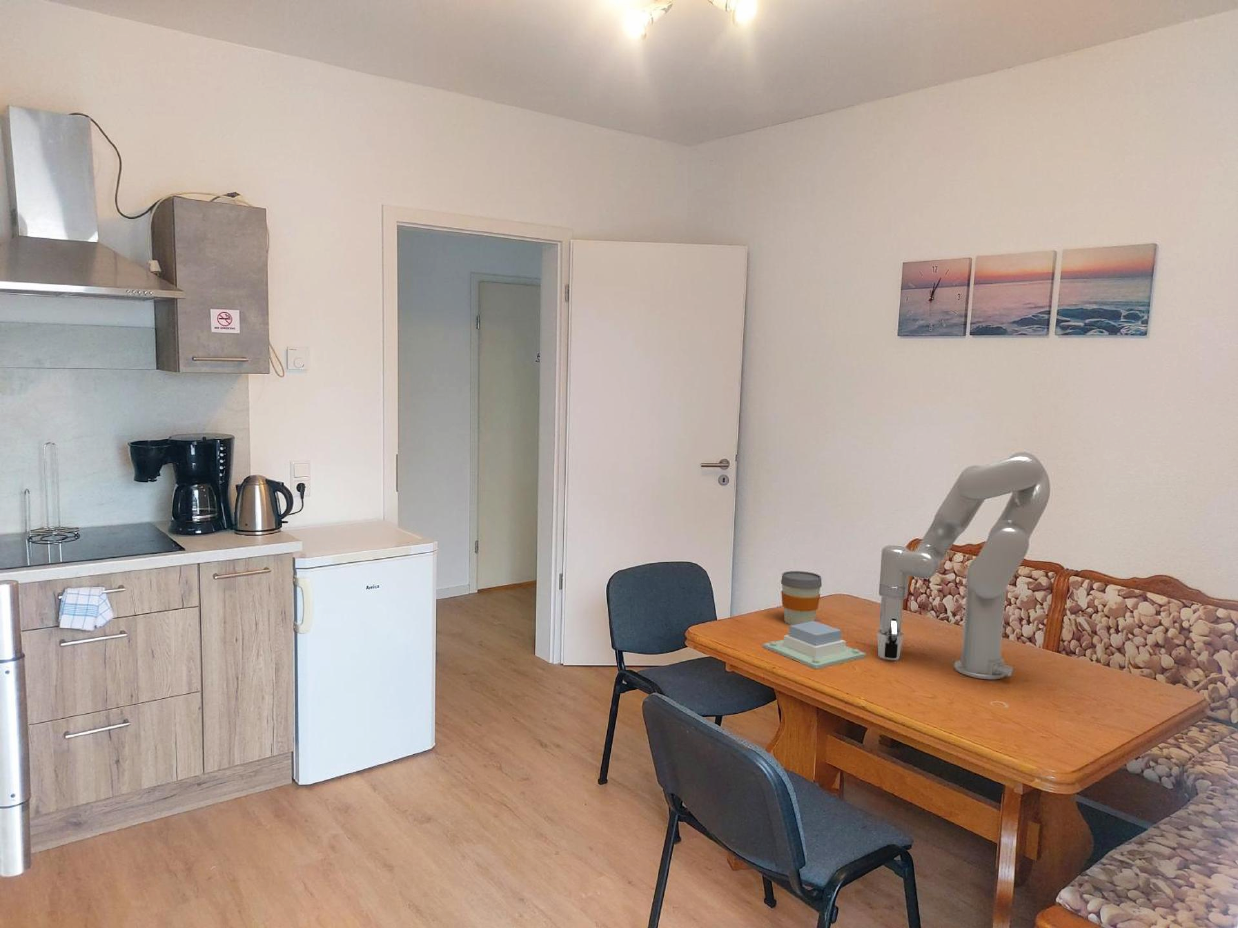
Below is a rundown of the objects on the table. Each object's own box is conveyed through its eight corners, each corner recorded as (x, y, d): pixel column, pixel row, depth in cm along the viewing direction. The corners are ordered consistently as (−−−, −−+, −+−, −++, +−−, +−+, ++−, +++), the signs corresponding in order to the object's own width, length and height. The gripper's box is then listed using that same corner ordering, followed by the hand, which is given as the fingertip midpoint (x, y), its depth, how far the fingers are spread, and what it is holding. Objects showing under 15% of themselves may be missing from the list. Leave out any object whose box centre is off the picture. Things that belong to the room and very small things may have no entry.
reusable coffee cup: (775, 624, 260) (777, 577, 258) (783, 614, 271) (785, 569, 269) (815, 630, 255) (818, 582, 253) (822, 619, 266) (825, 573, 265)
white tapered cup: (881, 650, 237) (883, 627, 236) (905, 656, 233) (907, 632, 232) (872, 656, 232) (873, 632, 231) (896, 662, 227) (897, 637, 227)
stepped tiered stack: (865, 656, 231) (867, 632, 230) (815, 669, 220) (817, 643, 219) (812, 636, 248) (813, 614, 247) (763, 647, 237) (764, 623, 236)
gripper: (875, 582, 239) (871, 642, 241) (882, 597, 222) (878, 662, 224) (903, 584, 238) (898, 644, 240) (912, 599, 221) (907, 664, 223)
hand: (888, 652), depth 232 cm, fingers closed on white tapered cup, 6 cm apart
